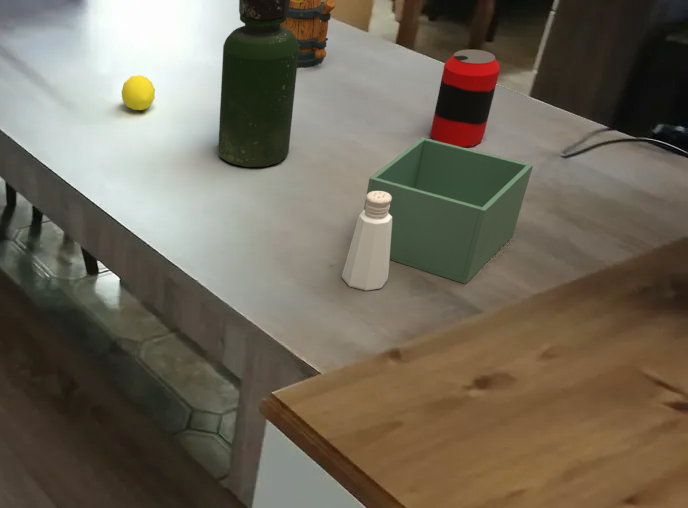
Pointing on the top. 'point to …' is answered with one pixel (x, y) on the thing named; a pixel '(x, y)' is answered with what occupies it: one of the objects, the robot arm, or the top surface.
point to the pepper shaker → (370, 245)
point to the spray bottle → (258, 86)
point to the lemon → (138, 92)
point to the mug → (309, 28)
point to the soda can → (465, 98)
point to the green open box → (450, 206)
